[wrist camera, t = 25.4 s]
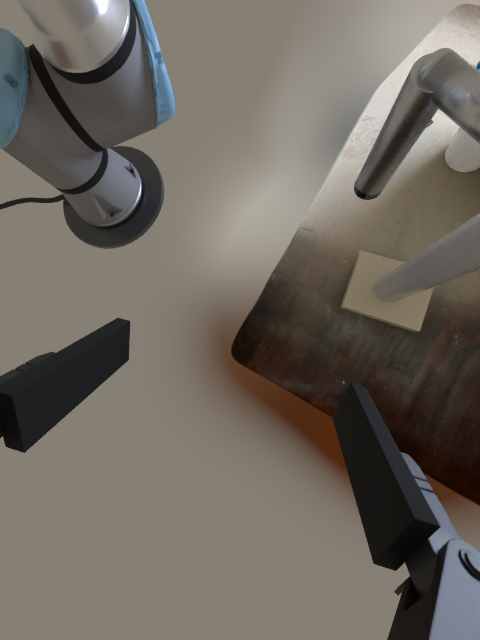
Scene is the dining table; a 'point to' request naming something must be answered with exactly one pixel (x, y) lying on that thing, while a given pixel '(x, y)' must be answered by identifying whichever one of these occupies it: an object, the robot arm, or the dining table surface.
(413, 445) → the dining table surface
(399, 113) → the bent metal pipe
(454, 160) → the cup
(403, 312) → the faucet base
